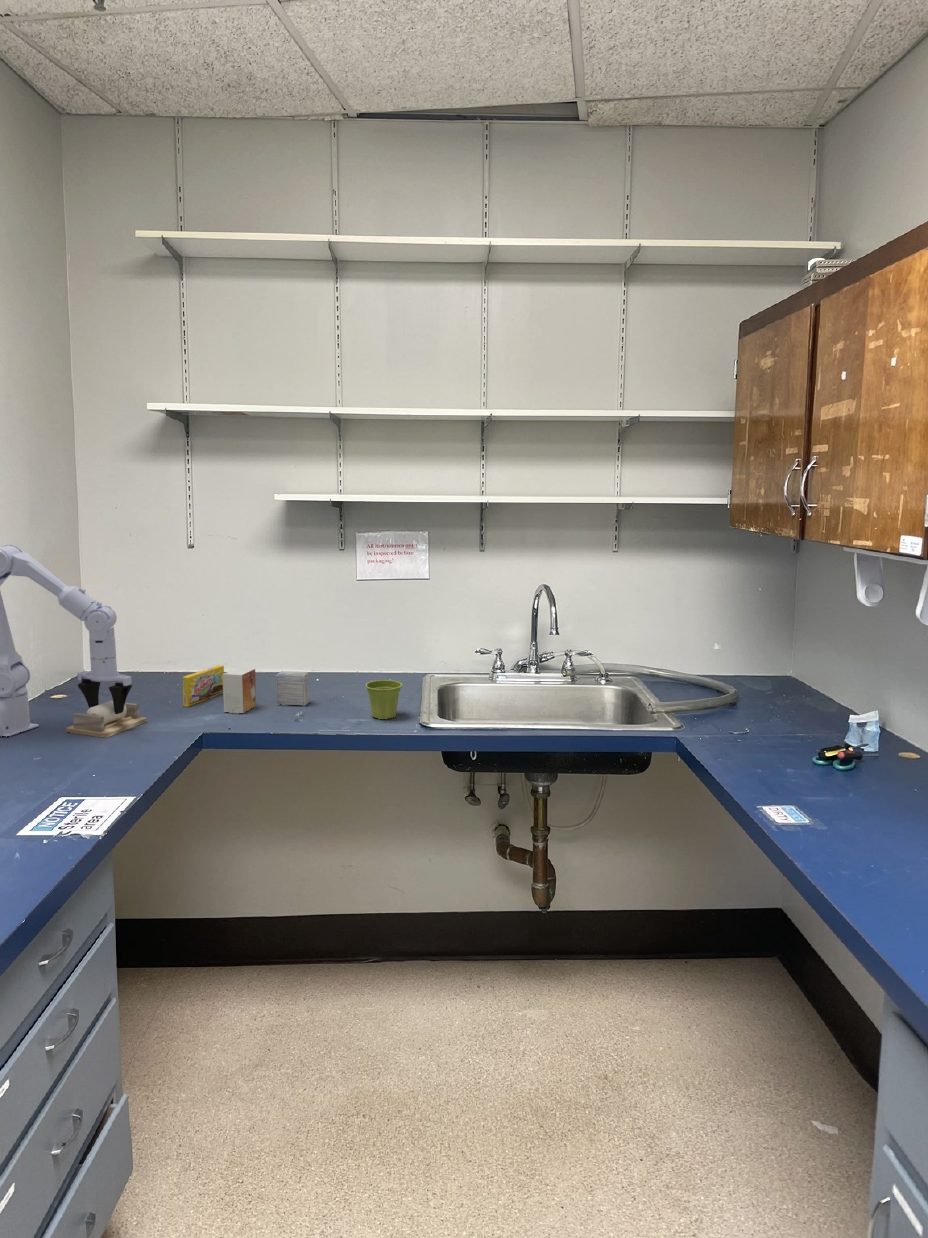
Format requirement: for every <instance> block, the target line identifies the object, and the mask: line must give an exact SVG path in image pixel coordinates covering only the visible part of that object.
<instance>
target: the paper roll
mask: <svg viewBox="0 0 928 1238" xmlns="http://www.w3.org/2000/svg"><path fill="white" fill-rule="evenodd" d="M126 713H127V708H126V705H124V710H123V712H122V713H119V714H115V712H114V705H113V699H112V700H109V701H106V702H103V703H101V704H100V703H99V705H97V706H94V707H91V708H89V707H88V709H87V710H86V713H85V714H88V715H96V716H103V717H104V725H105V724H108V723H111V722H113V721H116V720H119V719H121V718H124V717H125V715H126Z"/></svg>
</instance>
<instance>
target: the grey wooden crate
mask: <svg viewBox="0 0 928 1238" xmlns="http://www.w3.org/2000/svg"><path fill="white" fill-rule="evenodd" d="M309 680H310V679H309V672H308V671H291V670H289V671H284V670H283V671H280V672H278V673H277V674H276V675H275V681H276V682H275V684H276V685H275V686H276V705H277V704H285V705H284V706H287V705H306V706H307V705H308V703H310V681H309Z"/></svg>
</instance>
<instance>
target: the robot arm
mask: <svg viewBox="0 0 928 1238" xmlns="http://www.w3.org/2000/svg"><path fill="white" fill-rule="evenodd" d="M10 576H13V577H14V576H15V577H25V578H26V577H27V578H29V579H30V580H32V581H33V582H35V583H36V584H37V585H39V586H40V587H42V588H43V589H44V590H47V591H48V592H50V593H51V594H53V595H54V596H56V597H57V600H58V605H59V606H61V607H62V608H63V609H65V611H68V612H69V613H70V614H71V615H72V616H74V617H76V618H77V619H78V620H80V621H82V622H83V623H84V627H85V628H86V630H87V631H88V633H89V634H88V635H89V636H88V637H89V639H88V642H89V657H90V658H89V659H90V671H88V670H87V671H85V670H84V671H79V672H77V681H81V682H80V683H78V684H77V688H79V690H80V691H81V693H82V694H83V696H84V699H85V701H86V703H87V707H88V709H89V708H91V707H94V706H97V705H100V702H99V701H100V699H99V693H100V687H101V683H106V684H113V685H111V686H108V690H109V693H110V695H111V699H112V700H113V705H114V712H115V714H119V713H122V712H123V710H124V705H125V702H126V701H127V698H128V696H129V693H130V691H131V688H132V687H133V683H132V682H133V681H132V680H133V679H132V676H130V675H125V674H123V673H120V672H119V671H118V668H117V667H118V664H117V649H116V648H117V647H116V637H115V636H116V635H115V627H114V625H116V622H117V619H118V618H117V614H116V612H115V610H114V609H112V607H111V606H110V605H106V604H105V605H104V604H103V602H101V601H100V600H99V601H97V600H96V599H94V598H93V597H91V596H90V595H89V594H87V593H86V592H87V591H86V589H85V588H84V587H82V586H81V587H78V586H76V585H72V586H71V585H70V586H68V585H67V584H65V582H63V581H62V580H60V579H59V578H58V577H57V576H56V575H54V573H52V572H51V571H50V570H48V569H47V568H45V567H44V566H43V565H42V564H41V563H40V562H38V560H36V559H35V558H34V557H33V556H31V554H29V553H28V552H27V551H23V550H22V549H21V548H20V547H18V546H17V545H13V544H6V545H2V546H0V587H1V586H2V584H4V583H5V581H6V580H7V579H8V578H9V577H10ZM4 603H5V602H4V600H3V595H2V591H1V590H0V737H2V736H6V737H5V738H8V737H7V736H9V737H11V736H14V735H17V734H20V732H21V733H23V732H26V731H29V730H32V729H34V728H37V727H40V726H39V724H38V723H31V719H30V707H29V694H28V688H27V684H28V683H29V681H30V678H31V672H30V670H29V668H28V667H27V666H26V664H25V663H24V660H23V658H22V656H21V655H20V653H18V651H17V650H16V647H15V644H14V639H13V635H12V632H11V627H10V624H9V620H8V619H9V618H8V615H7V611H6V608H5V604H4Z"/></svg>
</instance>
